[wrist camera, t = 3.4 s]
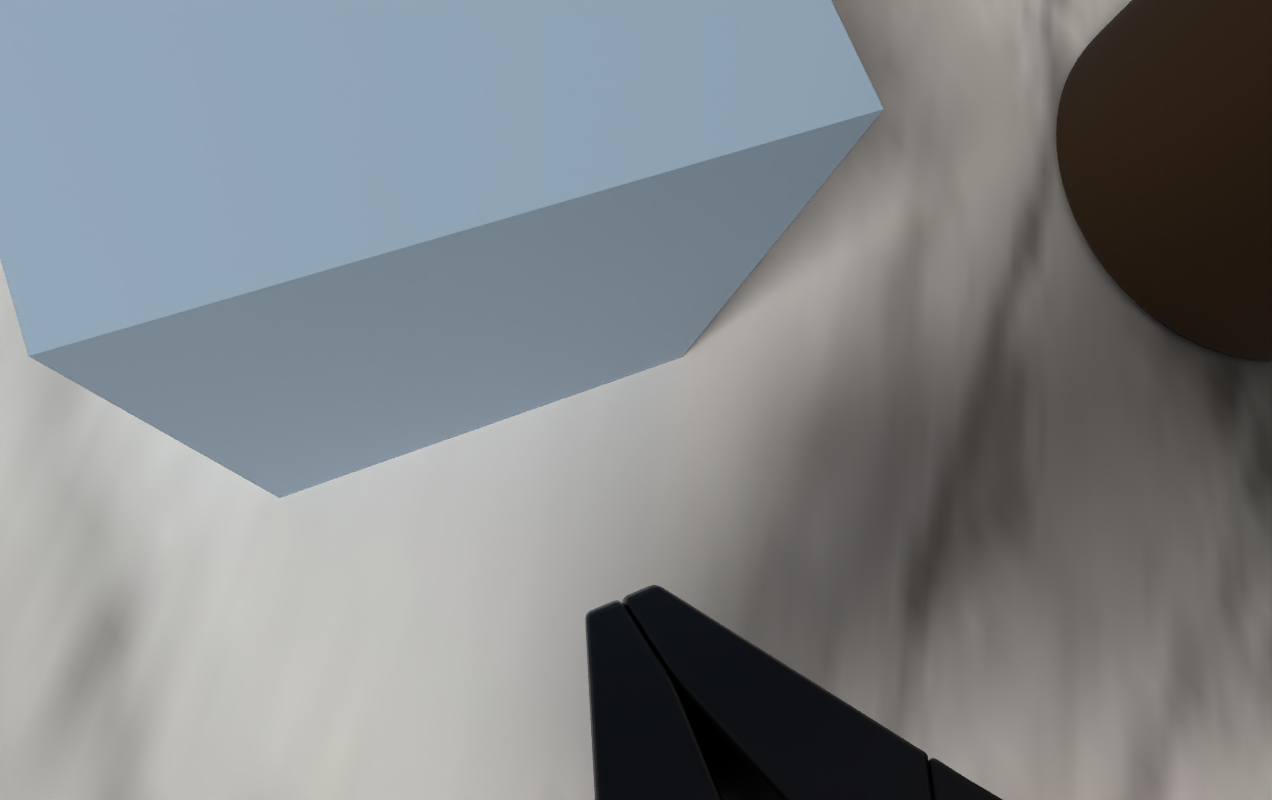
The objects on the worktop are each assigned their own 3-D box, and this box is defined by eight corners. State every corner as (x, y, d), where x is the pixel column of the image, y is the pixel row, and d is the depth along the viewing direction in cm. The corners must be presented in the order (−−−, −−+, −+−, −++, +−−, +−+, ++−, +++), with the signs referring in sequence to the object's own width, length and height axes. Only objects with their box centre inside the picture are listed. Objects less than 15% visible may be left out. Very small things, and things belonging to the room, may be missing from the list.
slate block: (681, 357, 17) (884, 109, 9) (280, 498, 15) (28, 356, 7) (525, -16, 19) (566, -548, 10) (139, 69, 17) (-219, -506, 8)
